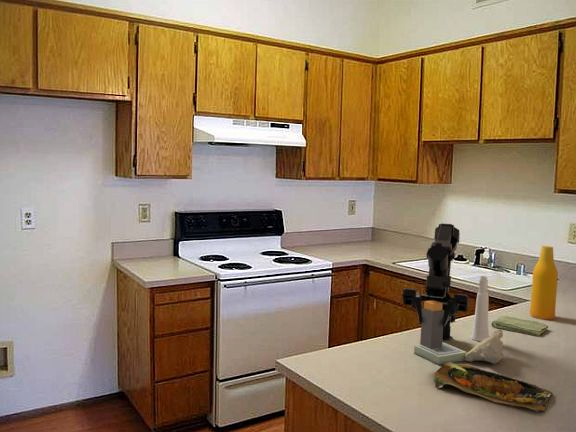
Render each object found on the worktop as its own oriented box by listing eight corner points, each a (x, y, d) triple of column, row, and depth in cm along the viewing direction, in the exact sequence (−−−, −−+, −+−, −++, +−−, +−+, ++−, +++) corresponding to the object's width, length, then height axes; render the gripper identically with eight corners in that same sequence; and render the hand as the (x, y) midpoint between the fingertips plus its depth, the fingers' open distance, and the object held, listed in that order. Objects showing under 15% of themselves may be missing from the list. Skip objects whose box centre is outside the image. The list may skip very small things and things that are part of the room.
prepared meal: (554, 379, 140) (543, 401, 125) (554, 392, 140) (542, 416, 126) (449, 359, 156) (428, 376, 141) (448, 371, 156) (427, 389, 141)
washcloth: (540, 338, 188) (541, 329, 188) (489, 328, 199) (490, 320, 199) (548, 330, 199) (549, 322, 198) (500, 321, 209) (500, 313, 209)
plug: (420, 344, 156) (422, 301, 155) (431, 342, 158) (433, 299, 157) (430, 349, 152) (433, 304, 151) (442, 347, 154) (444, 303, 153)
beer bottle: (559, 320, 212) (564, 248, 209) (535, 319, 212) (540, 247, 209) (548, 314, 221) (553, 245, 218) (525, 313, 221) (530, 244, 219)
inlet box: (414, 353, 167) (414, 345, 167) (440, 348, 172) (440, 341, 172) (438, 365, 157) (439, 356, 157) (465, 360, 162) (466, 351, 162)
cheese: (483, 377, 154) (524, 346, 154) (465, 356, 156) (506, 325, 156) (474, 374, 169) (512, 346, 169) (459, 355, 171) (496, 327, 171)
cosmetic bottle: (493, 341, 182) (497, 278, 180) (478, 342, 180) (481, 278, 178) (482, 336, 188) (485, 274, 186) (467, 337, 186) (471, 275, 184)
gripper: (404, 261, 160) (396, 306, 151) (470, 267, 153) (466, 314, 144) (407, 282, 168) (400, 325, 159) (469, 288, 161) (465, 334, 152)
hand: (431, 324), depth 153 cm, fingers closed on plug, 6 cm apart
